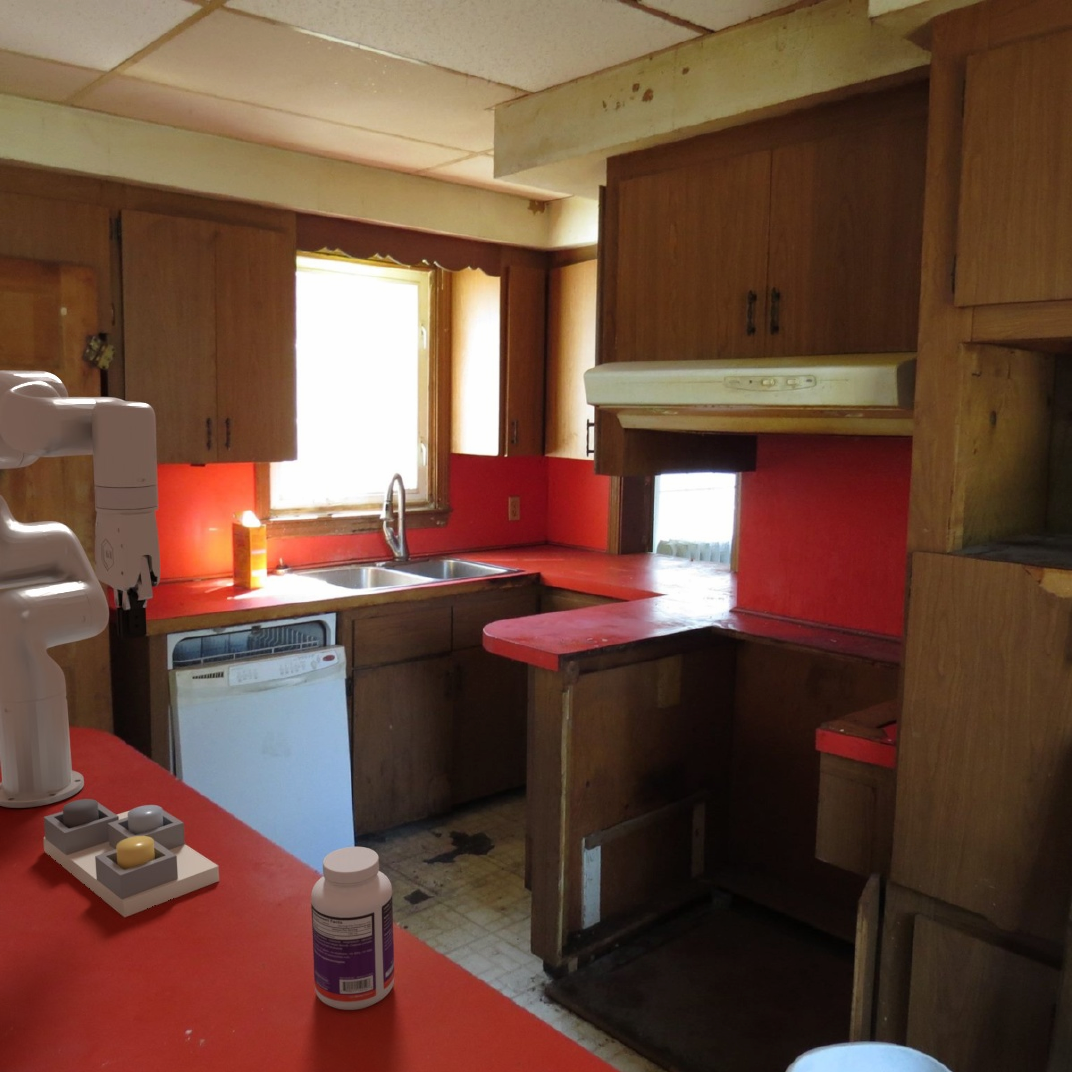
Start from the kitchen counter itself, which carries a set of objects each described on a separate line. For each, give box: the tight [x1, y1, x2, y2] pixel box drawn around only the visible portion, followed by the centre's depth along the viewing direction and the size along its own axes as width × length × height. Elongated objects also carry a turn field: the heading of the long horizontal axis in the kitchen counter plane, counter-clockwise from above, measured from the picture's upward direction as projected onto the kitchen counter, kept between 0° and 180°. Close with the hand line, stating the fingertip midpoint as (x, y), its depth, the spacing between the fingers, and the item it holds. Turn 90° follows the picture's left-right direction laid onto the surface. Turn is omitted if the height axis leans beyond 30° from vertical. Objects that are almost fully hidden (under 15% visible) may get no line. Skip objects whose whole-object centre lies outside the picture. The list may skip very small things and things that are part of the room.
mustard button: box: [116, 836, 155, 870], centre depth 121 cm, size 4×4×4 cm
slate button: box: [128, 804, 163, 835], centre depth 130 cm, size 4×4×4 cm
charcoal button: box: [62, 798, 99, 829], centre depth 132 cm, size 4×4×4 cm
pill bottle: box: [310, 846, 395, 1011], centre depth 102 cm, size 8×8×14 cm
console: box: [42, 802, 220, 918], centre depth 129 cm, size 24×12×5 cm, turn 46°
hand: (132, 636), depth 132 cm, fingers closed
